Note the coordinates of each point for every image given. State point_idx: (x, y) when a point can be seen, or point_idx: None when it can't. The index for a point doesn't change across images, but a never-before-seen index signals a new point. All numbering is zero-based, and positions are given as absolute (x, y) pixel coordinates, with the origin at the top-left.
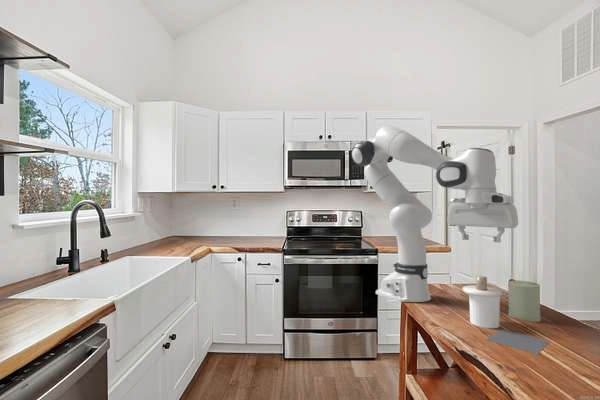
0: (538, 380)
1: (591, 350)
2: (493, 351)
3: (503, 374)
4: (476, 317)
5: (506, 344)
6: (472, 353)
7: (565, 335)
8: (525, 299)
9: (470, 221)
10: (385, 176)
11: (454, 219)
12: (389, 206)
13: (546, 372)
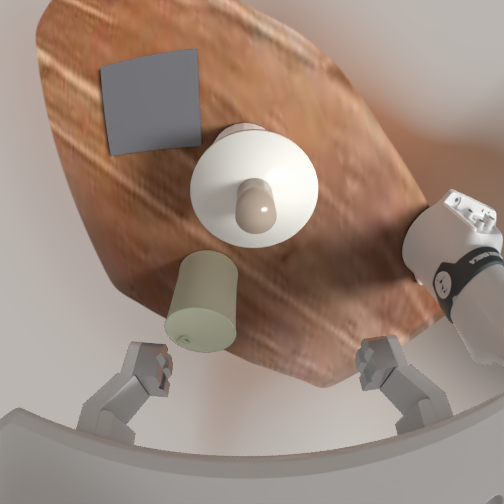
0: None
1: (70, 183)
2: (168, 20)
3: None
4: (252, 127)
5: (155, 60)
6: None
7: (118, 225)
8: (187, 285)
9: (367, 489)
10: None
11: (497, 445)
12: None
13: (81, 25)
